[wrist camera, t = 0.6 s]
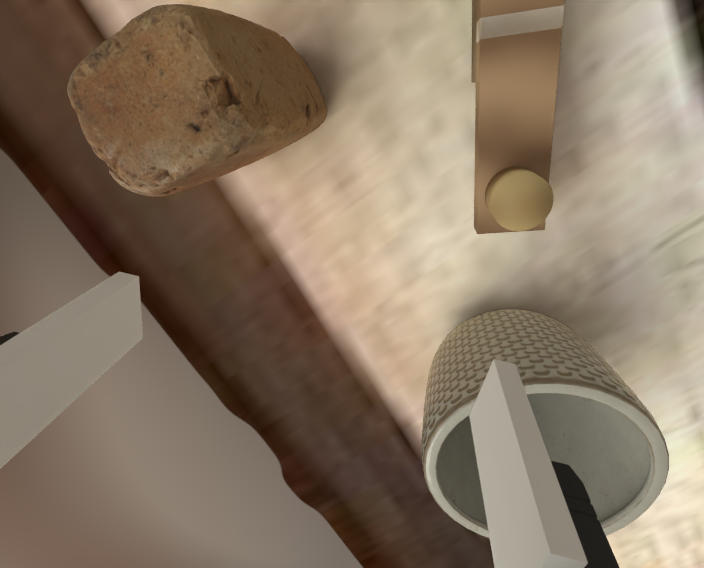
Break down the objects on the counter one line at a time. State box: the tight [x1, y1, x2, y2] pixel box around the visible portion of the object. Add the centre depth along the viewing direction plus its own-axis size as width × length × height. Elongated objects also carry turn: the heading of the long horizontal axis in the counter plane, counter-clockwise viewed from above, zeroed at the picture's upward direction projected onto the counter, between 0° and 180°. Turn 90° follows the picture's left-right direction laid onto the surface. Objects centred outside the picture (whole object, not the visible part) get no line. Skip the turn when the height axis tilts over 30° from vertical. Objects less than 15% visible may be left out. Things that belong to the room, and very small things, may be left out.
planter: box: [421, 309, 669, 538], centre depth 37 cm, size 17×17×16 cm
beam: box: [472, 0, 565, 234], centre depth 28 cm, size 28×5×10 cm, turn 6°
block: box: [67, 4, 327, 196], centre depth 28 cm, size 11×8×20 cm
